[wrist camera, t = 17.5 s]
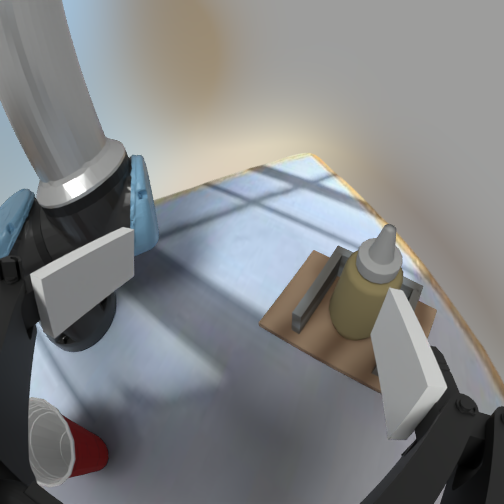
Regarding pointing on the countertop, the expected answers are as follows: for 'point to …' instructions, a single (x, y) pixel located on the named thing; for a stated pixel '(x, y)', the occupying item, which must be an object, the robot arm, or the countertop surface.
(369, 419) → the countertop surface
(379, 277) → the squeeze bottle
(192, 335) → the countertop surface
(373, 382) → the u rest
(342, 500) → the countertop surface
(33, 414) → the plastic cup
